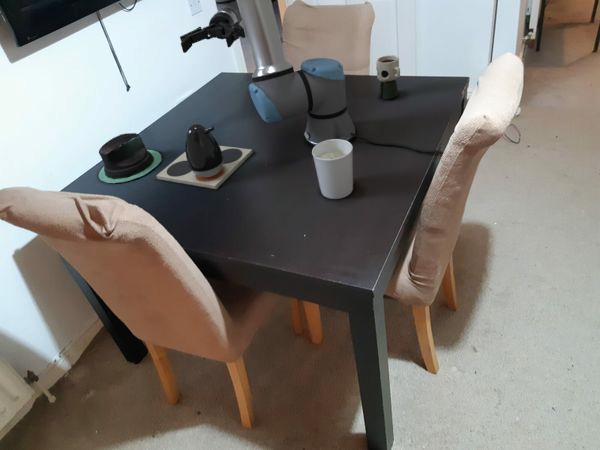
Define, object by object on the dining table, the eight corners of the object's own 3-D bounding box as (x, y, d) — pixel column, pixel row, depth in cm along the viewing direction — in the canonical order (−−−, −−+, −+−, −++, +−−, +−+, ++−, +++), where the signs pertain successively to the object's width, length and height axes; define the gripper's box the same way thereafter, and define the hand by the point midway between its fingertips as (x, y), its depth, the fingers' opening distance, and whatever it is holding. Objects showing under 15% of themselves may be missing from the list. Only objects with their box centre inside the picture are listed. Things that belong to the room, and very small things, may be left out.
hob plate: (253, 152, 135) (252, 148, 134) (216, 189, 122) (215, 185, 121) (197, 145, 144) (195, 142, 144) (157, 179, 131) (155, 175, 130)
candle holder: (332, 175, 118) (327, 135, 111) (363, 185, 113) (360, 143, 105) (310, 194, 113) (303, 154, 106) (341, 205, 107) (336, 163, 100)
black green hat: (127, 144, 151) (175, 149, 144) (106, 192, 146) (154, 200, 138) (97, 119, 138) (147, 123, 131) (72, 171, 132) (124, 178, 125)
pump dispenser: (221, 182, 122) (205, 132, 112) (187, 182, 124) (169, 134, 115) (232, 162, 129) (218, 114, 120) (200, 163, 132) (184, 117, 122)
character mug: (370, 96, 154) (368, 59, 146) (385, 89, 156) (384, 52, 148) (391, 104, 146) (391, 66, 138) (407, 97, 149) (407, 58, 141)
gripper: (262, 31, 143) (249, 53, 126) (190, 40, 147) (169, 63, 131) (257, 6, 138) (243, 26, 122) (183, 16, 142) (160, 37, 126)
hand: (205, 45), depth 126 cm, fingers open, 13 cm apart
